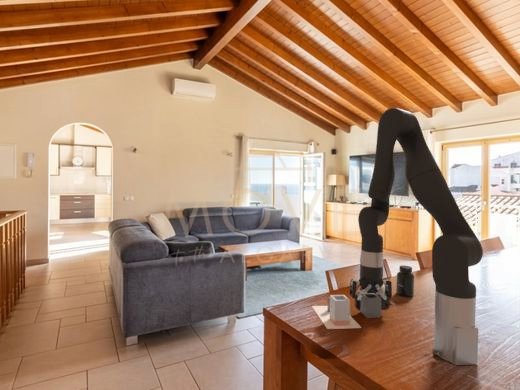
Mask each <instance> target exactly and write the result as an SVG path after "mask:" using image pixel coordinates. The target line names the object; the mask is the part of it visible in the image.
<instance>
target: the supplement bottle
mask: <svg viewBox="0 0 520 390" xmlns="http://www.w3.org/2000/svg"><path fill="white" fill-rule="evenodd" d="M412 272H413V267H411V266H409V265H400V266H399V270H398V272H397V273H396V285H395V288H396V289H395V292H396V294H397V295H398V296H400V297H404V298H411V297H414V295H415V293H414V292H415V275H414V274H413V273H412Z"/></svg>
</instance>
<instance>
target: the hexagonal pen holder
mask: <svg viewBox="0 0 520 390" xmlns="http://www.w3.org/2000/svg"><path fill="white" fill-rule="evenodd" d="M329 297H330V320H331V321H332V323H333V324H334V325H335V326H340V325H350V316H351V299H349V298H348V297H347V296H346V295H345V294H330V295H329Z"/></svg>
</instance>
